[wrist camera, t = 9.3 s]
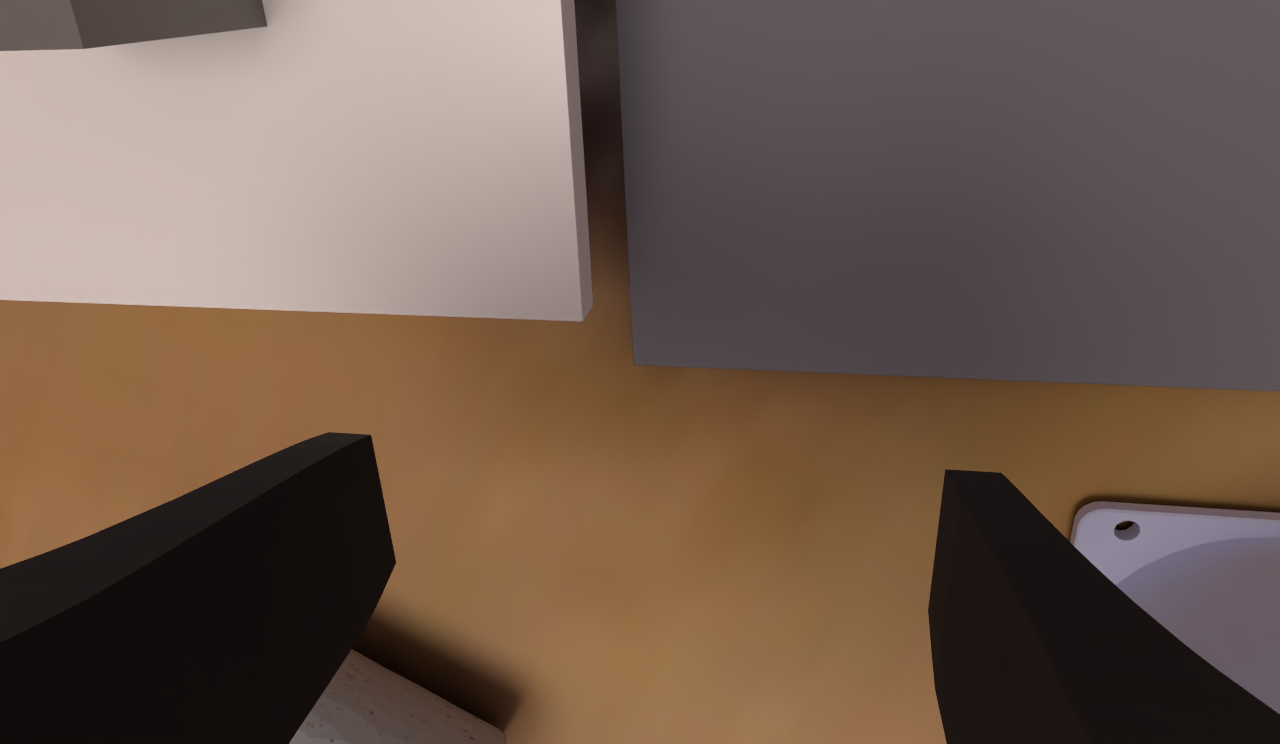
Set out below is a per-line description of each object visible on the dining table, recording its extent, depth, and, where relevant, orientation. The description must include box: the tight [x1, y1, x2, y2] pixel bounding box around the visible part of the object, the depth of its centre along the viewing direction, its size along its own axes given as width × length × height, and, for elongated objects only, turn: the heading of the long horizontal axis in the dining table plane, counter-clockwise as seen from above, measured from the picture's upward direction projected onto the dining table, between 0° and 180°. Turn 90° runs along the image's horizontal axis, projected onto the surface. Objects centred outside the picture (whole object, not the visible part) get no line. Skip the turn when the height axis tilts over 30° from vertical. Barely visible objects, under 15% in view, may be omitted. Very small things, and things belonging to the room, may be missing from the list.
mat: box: [616, 0, 1280, 392], centre depth 16 cm, size 14×14×1 cm
